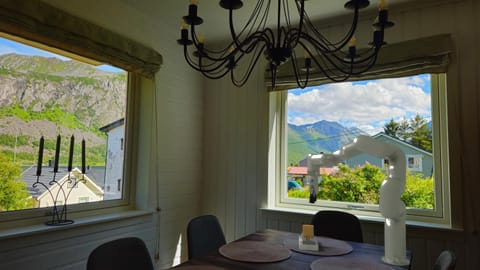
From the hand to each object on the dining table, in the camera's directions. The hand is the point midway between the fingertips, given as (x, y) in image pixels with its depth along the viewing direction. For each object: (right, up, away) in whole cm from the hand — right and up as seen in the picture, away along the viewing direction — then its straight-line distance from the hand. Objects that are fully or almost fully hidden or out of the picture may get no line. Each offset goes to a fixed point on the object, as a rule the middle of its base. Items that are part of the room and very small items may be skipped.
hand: (312, 202), depth 189 cm
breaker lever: (-4, -21, -5) cm, 22 cm away
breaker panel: (-4, -24, -5) cm, 25 cm away
